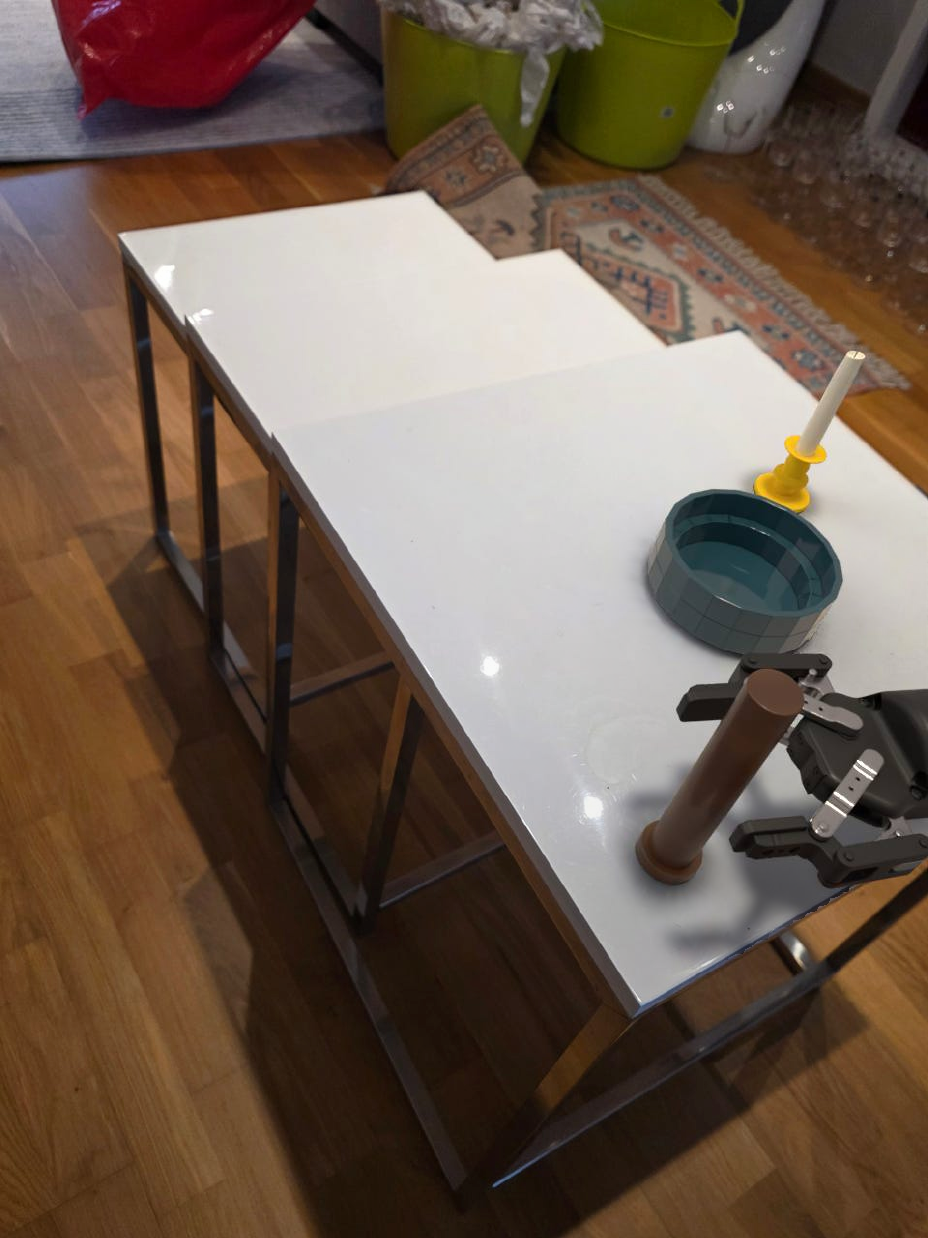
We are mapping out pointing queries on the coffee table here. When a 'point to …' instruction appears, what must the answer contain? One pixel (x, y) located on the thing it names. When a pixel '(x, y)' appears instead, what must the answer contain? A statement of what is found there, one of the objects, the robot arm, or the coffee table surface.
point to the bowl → (743, 571)
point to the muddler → (720, 775)
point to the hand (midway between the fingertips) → (707, 769)
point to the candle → (808, 443)
